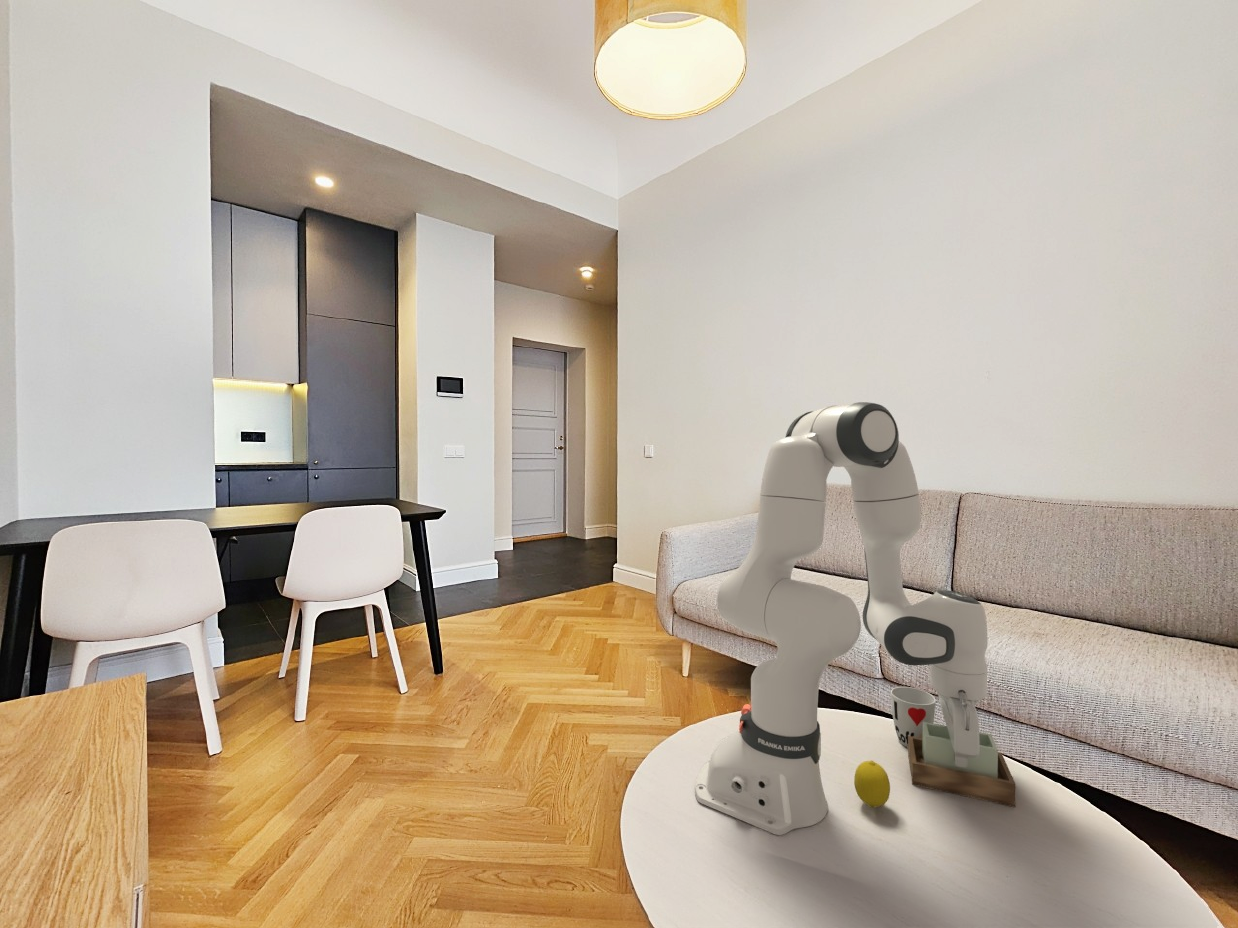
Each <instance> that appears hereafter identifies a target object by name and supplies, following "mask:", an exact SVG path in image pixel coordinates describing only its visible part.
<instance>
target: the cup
mask: <svg viewBox="0 0 1238 928" xmlns="http://www.w3.org/2000/svg"><path fill="white" fill-rule="evenodd" d="M890 701H891V702H890V703H891V712H892V713H891V714H892V718H893V719H892V720H893V725H894V730H895V732H896V735H897V739H898V742H899V743H900V744H901V745H902V746H904V747H905V748H906V747H907V748H908V736H912V737H917V738H922V739H923V722H927V723H933V724H935V723H934V722H935V714H936V713H935V712H936V711H935V709H936V702H937V701H936V697H935V696H934V695H933V694H931V693H929V692H927V691H926V690H922V689H920V688H915V687H909V686H897V687H893V688H892V689H891V690H890Z"/></svg>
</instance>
